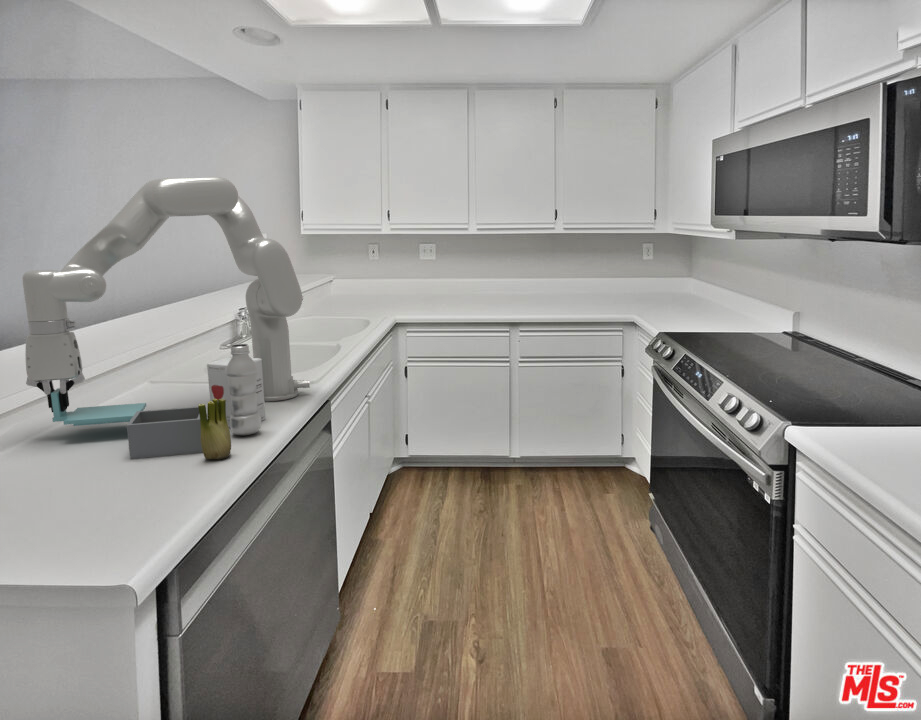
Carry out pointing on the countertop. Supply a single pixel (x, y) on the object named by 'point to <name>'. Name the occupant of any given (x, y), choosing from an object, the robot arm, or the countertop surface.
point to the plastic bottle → (243, 391)
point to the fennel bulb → (215, 430)
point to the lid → (94, 413)
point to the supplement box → (221, 385)
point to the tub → (164, 432)
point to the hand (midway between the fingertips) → (59, 410)
